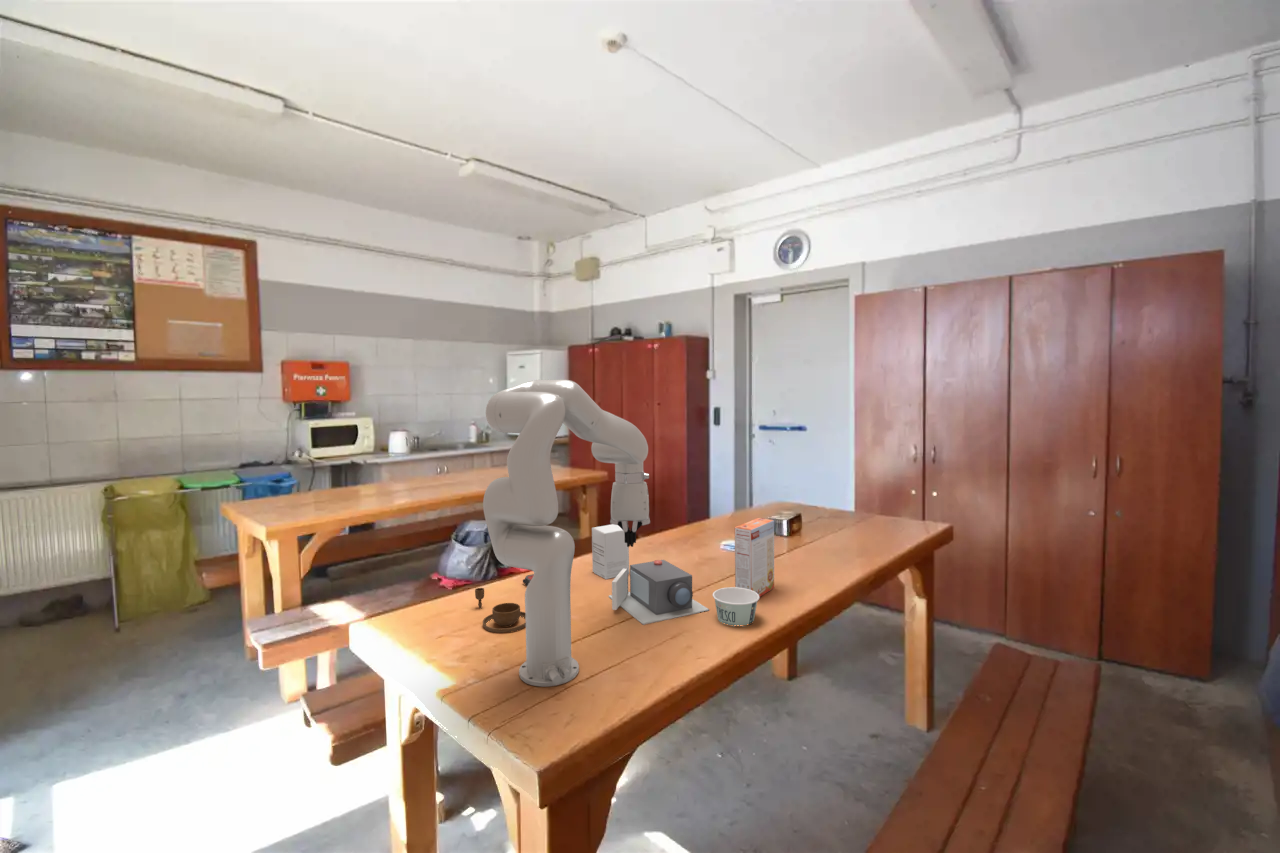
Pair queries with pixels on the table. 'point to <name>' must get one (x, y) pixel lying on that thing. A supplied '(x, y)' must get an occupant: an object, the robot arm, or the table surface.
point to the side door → (619, 588)
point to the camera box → (659, 593)
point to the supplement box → (609, 551)
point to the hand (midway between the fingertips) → (630, 545)
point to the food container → (735, 605)
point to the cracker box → (755, 555)
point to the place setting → (501, 614)
